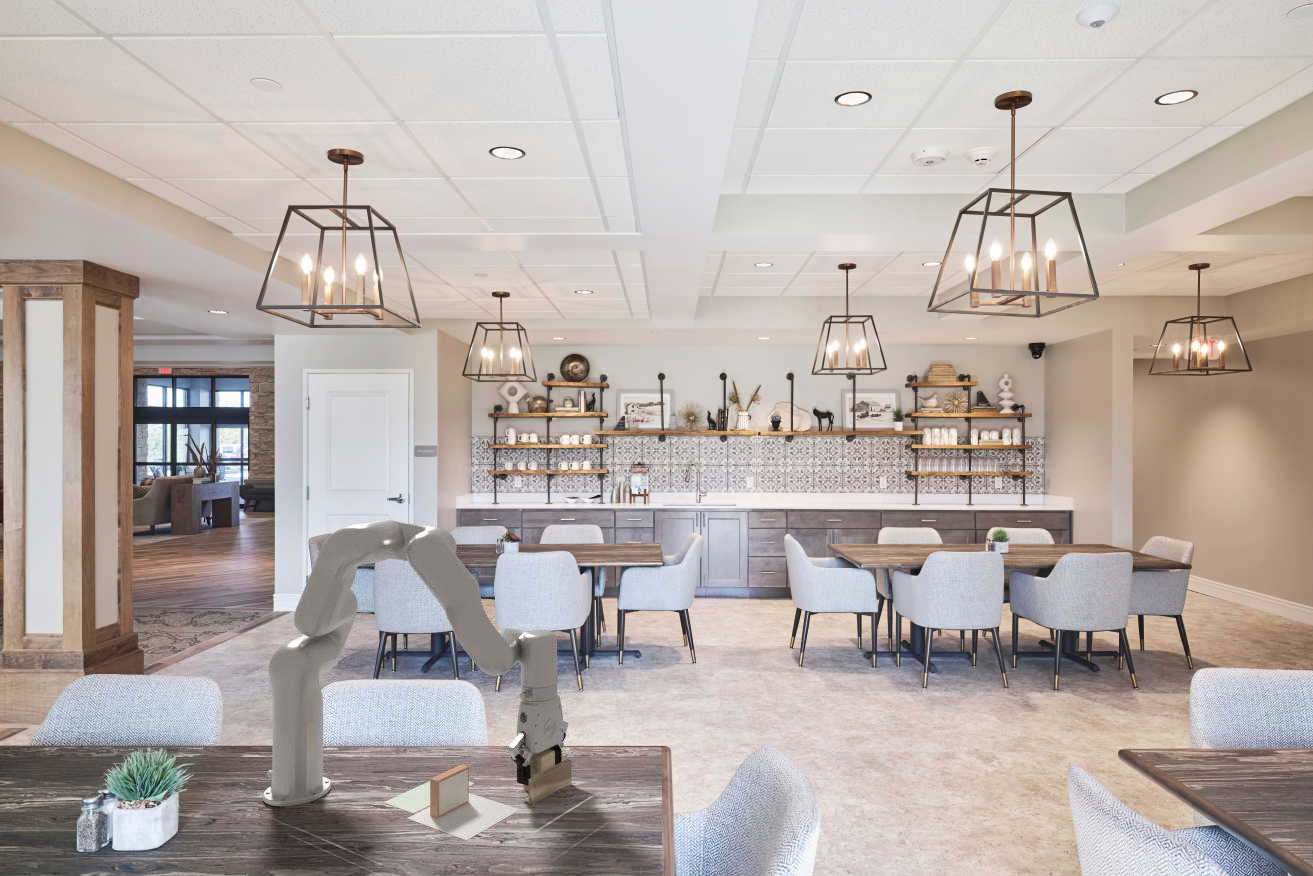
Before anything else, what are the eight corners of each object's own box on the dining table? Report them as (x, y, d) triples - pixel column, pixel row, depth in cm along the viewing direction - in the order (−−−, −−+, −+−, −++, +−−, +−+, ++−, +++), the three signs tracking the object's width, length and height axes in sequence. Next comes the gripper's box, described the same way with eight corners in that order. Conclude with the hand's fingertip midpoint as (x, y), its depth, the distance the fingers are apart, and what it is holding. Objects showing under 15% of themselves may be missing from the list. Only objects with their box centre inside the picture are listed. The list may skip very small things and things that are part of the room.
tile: (430, 815, 144) (430, 778, 144) (461, 799, 151) (461, 764, 151) (437, 818, 143) (437, 781, 143) (469, 802, 150) (469, 766, 150)
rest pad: (383, 803, 150) (383, 802, 150) (445, 775, 163) (445, 773, 163) (413, 814, 145) (413, 813, 145) (474, 784, 159) (474, 783, 159)
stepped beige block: (510, 798, 152) (510, 758, 152) (549, 777, 162) (548, 740, 162) (533, 806, 149) (533, 765, 149) (571, 784, 159) (571, 745, 159)
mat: (406, 819, 143) (406, 818, 143) (462, 792, 155) (462, 790, 155) (466, 841, 135) (466, 840, 135) (520, 811, 146) (520, 809, 146)
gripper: (524, 706, 147) (524, 795, 146) (579, 683, 162) (579, 764, 161) (496, 700, 151) (496, 786, 150) (552, 678, 166) (553, 757, 165)
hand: (539, 775), depth 156 cm, fingers open, 9 cm apart
